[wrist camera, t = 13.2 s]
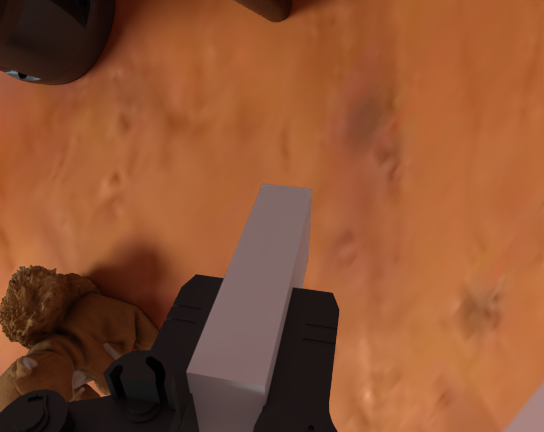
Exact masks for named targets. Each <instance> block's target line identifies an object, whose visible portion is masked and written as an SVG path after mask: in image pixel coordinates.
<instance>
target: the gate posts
mask: <svg viewBox="0 0 544 432" xmlns="http://www.w3.org/2000/svg"><path fill="white" fill-rule="evenodd" d="M234 1H236V2H238V3H239V4H241V5H243V6H245V7H246V8H248V9H250V10H252V11H253V12H255V13H257V14H259V15H261V16H262V17H264V18H266V19H268V20H269V21H272V22H280V21H282V20H284V19H285V18H286V17H287V16H288V15H289V13H290V11H291V8H292V0H234Z"/></svg>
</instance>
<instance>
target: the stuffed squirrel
mask: <svg viewBox="0 0 544 432" xmlns="http://www.w3.org/2000/svg"><path fill="white" fill-rule="evenodd" d="M19 269H20V270H19V271H18V270H17V273H14V275H12V280H10V281H9V287H8V289H7V293H6V296H5V297H4V298H2V302H1V306H0V314H1V315H0V324H1V325H2V326H3V327H2V329H3V331H2V332H4V333H5V335H6V336H7V337H9V340H10V342H19V343H20V344H21V345H22V346H24V347H26V348H27V349H29V351H28V353H27V355H26V356H22V357H20V358H19V359H17V360H16V361H15V362H14V363H13V364H11V366H10V367H9V368H8V369H7V370H6V371H5V372H4V373H3V374H2V375H1V376H0V412H1V411H2V410H3V409H4V408H5V407H6V406H8V405H9V404H10V403H11V402H13V401H14V400H15V399H17V398H18V397H20V396H22V395H24V394H27V393H29V392H31V391H35V390H43V389H48V390H52V391H56V392H58V393H59V394H60V395H61V396H62V397H63V398H65V400H66V402H71V401H79V400H86V399H94V398H100V395H99V394H98V393H97V392H96V391H94V390H93V389H92V388H91V387H90V386H89V385H88V384H86V383H87V382H90V381H92V380H94V382H95V384H96V386H97V388H98V390H99V391H100V392H101V393H103V394H105V395H109V394H111V393H110V391H109V388H108V385H107V383H106V380H105V377H104V375H103V373H104V372H105V371H106V369H107V368H108V367H109V366H110V364H111V363H112V362H114V361H115V360H117V359H118V358H120V357H121V356H123V355H124V354H127V353H130V352H132V349H134V348H136V349H139V350H151V348H152V346H153V344H154V342H155V340H156V338H157V336H158V334H159V331H158V330H157V328H156V327H155V326H154V325H153V323H152V322H151V321H150V320H149V319H148V318H147V316H146V315H145V314H144V313H143V312H142V311H141V310H140V309H139V308H138V307H137V306H135V305H133V304H130V303H127V302H124V301H121V300H117V299H113V298H109V297H105V296H102V293H101V292H100V291H99V289H97V286H96V285H94V284H93V283H92V282H91V280H89V279H88V278H85V277H82V276H80V275H78V274H74V273H70V274H66V275H63V274H56V268H55V269H53V270H51V271H50V270H47V269H46V268H44V267H43V268H42V267H41V266H34V267H33V266H32V265H30V267H29V268H26V269H25V266H24V267H21V266H20V267H19ZM24 270H25V271H24Z"/></svg>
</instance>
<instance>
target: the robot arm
mask: <svg viewBox="0 0 544 432" xmlns="http://www.w3.org/2000/svg"><path fill="white" fill-rule="evenodd" d="M113 12H114V0H0V71H3V72H5V73H6V74H8V75H10V76H12V77H14V78H16V79H19V80H22V81H25V82H29V83H37V84H45V85H61V84H66V83H69V82H71V81H73V80H75V79H77V78H79V77H80V76H81V75H83V74H84V73H85V72H86V71H87V70H88V69H89V68H90V67H91V66H92V65H93V64H94V63H95V61H96V60H97V58H98V57H99V55H100V54H101V52H102V50H103V48H104V46H105V43H106V41H107V38H108V35H109V32H110V28H111V24H112V19H113ZM311 205H312V189H307V188H298V187H289V186H279V185H270V184H262V186H261V188H260V191H259V193H258V196H257V198H256V201H255V203H254V206H253V208H252V211H251V213H250V216H249V218H248V220H247V223H246V225H245V228H244V230H243V233H242V235H241V238H240V240H239V243H238V245H237V248H236V250H235V253H234V255H233V258H232V260H231V263H230V265H229V267H228V270H227V272H226V275H225V277H224V278H217V277H210V276H203V275H197V274H196V275H195V276H194V277H193V278H192V279H190V280H189V281H188V282H187V283H186V284H185V285H184V286H183V287H181V289H180V291H179V293H178V295H177V297H176V299H175V301H174V303H173V307H171V309H170V311H169V313H168V315H167V319H166V321H164V323H163V325H162V327H161V330H160V332H159V334H158V336H157V338H156V340H155V342H154V344H153V346H152V348H151V350H137V351H134V352H130V353H127V354H124V355H123V356H121V357H120V358H118V359H117V360H115V361H114V362H112V363H111V364H110V366H109V367H108V368H107V369H106V371H105V372H104V373H103V375H104V377H105V380H106V383H107V385H108V388H109V391H110V393H111V395H109V396H104V397H100V398H94V399H86V400H79V401H71V402H66V400H65V398H63V397H62V396H61V395H60V394H59V393H58V392H56V391H52V390H48V389H43V390H35V391H31V392H29V393H27V394H24V395H22V396H20V397H18V398H17V399H15V400H14V401H13V402H11V403H10V404H9V405H8V406H6V407H5V408H4V409H3V410H2V411H1V412H0V432H337V430H336V428H335V426H334V425H333V423H332V420H331V416H330V413H329V398H330V389H331V381H332V372H333V363H334V354H335V345H336V336H337V327H338V318H339V308H338V305H337V303H336V300H335V297H334V295H333V293H330V292H323V291H316V290H309V289H302V286H303V282H304V277H305V272H306V267H307V262H308V255H309V238H310V221H311Z"/></svg>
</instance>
